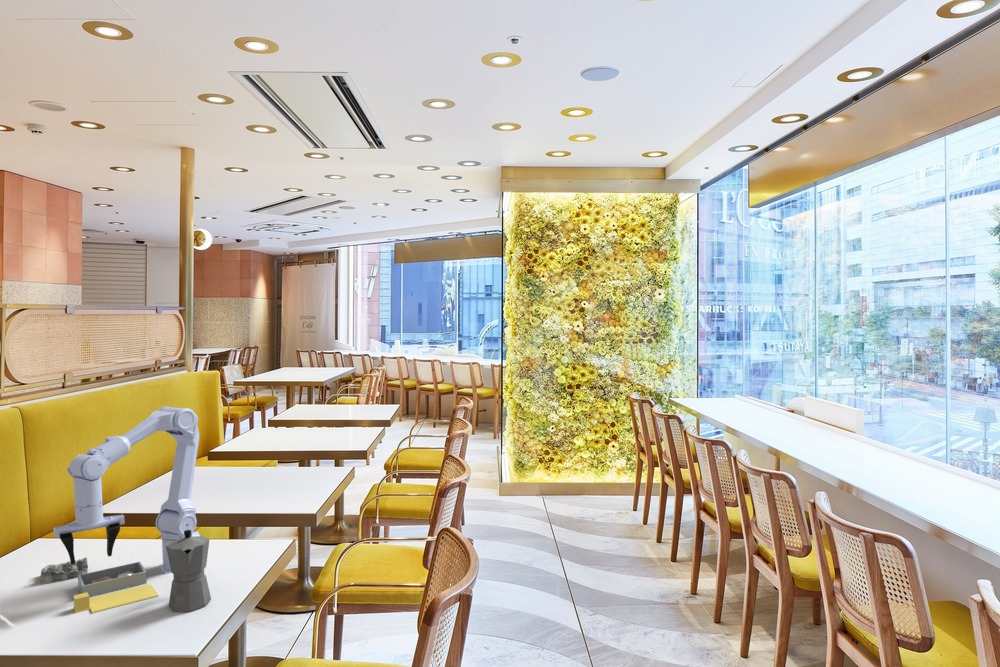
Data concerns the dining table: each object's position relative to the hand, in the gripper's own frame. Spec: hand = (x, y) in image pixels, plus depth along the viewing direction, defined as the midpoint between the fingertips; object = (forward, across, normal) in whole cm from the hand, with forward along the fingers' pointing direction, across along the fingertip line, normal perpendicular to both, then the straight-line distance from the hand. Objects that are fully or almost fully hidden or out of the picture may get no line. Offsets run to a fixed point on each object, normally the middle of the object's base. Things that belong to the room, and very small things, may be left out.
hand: (91, 559), depth 161 cm
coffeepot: (+10, -18, +17) cm, 27 cm away
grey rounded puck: (+10, -8, -6) cm, 14 cm away
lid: (+11, -4, +5) cm, 12 cm away
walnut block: (+10, -3, -6) cm, 12 cm away
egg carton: (+11, +4, -22) cm, 25 cm away
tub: (+10, -5, -6) cm, 13 cm away
